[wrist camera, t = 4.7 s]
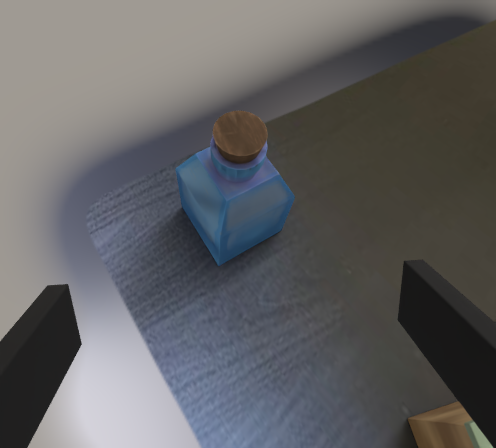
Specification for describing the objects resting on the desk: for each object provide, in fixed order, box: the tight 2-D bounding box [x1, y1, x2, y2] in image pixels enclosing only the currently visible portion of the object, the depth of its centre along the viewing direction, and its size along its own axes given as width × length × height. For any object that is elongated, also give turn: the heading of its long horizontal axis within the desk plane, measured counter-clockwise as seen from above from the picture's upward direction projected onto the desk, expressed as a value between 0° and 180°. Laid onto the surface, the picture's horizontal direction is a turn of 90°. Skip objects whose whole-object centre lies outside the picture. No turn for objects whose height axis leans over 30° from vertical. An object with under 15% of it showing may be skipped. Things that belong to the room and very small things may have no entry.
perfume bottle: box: [176, 111, 295, 266], centre depth 28 cm, size 6×6×12 cm
